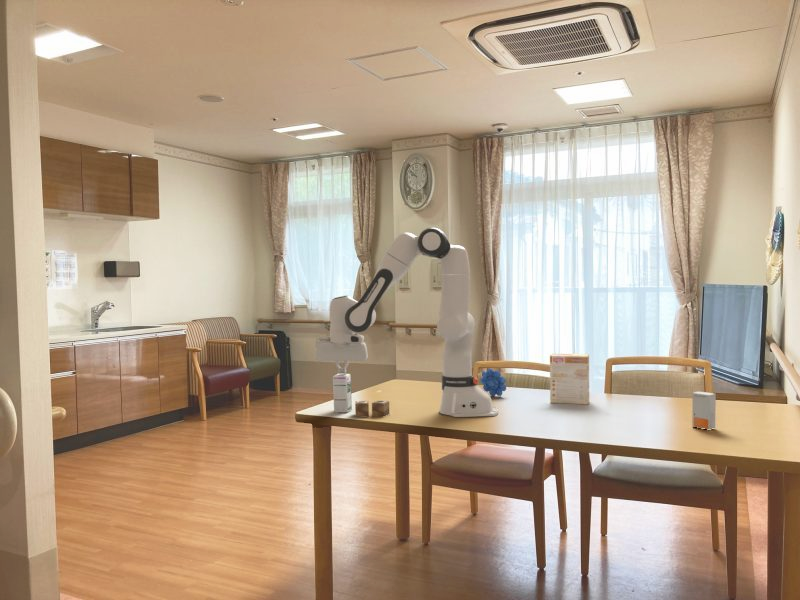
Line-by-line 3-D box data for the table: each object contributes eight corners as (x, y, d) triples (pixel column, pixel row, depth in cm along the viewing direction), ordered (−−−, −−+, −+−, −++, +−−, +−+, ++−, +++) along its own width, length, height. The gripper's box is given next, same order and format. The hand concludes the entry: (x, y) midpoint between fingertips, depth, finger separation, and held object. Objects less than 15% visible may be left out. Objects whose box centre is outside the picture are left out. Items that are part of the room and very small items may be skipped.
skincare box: (691, 427, 219) (691, 392, 219) (698, 425, 222) (698, 391, 221) (709, 431, 214) (709, 395, 214) (716, 429, 217) (716, 393, 216)
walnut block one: (368, 413, 250) (368, 400, 249) (368, 416, 245) (368, 402, 244) (355, 414, 249) (355, 400, 249) (355, 417, 244) (355, 403, 244)
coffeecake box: (589, 401, 266) (589, 354, 265) (588, 405, 259) (587, 356, 258) (552, 399, 271) (552, 353, 270) (549, 402, 265) (549, 355, 264)
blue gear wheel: (477, 397, 279) (476, 369, 279) (482, 394, 285) (481, 367, 285) (503, 398, 274) (503, 370, 274) (507, 396, 280) (507, 368, 280)
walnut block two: (389, 414, 249) (389, 400, 248) (384, 416, 244) (384, 402, 244) (377, 413, 250) (377, 399, 250) (372, 416, 246) (371, 402, 246)
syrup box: (348, 412, 252) (347, 375, 251) (333, 412, 253) (332, 375, 252) (352, 409, 257) (351, 373, 257) (337, 409, 258) (336, 373, 258)
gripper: (313, 338, 252) (314, 373, 253) (365, 337, 250) (366, 373, 250) (317, 336, 258) (318, 371, 259) (368, 336, 256) (369, 371, 256)
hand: (342, 372), depth 254 cm, fingers closed
